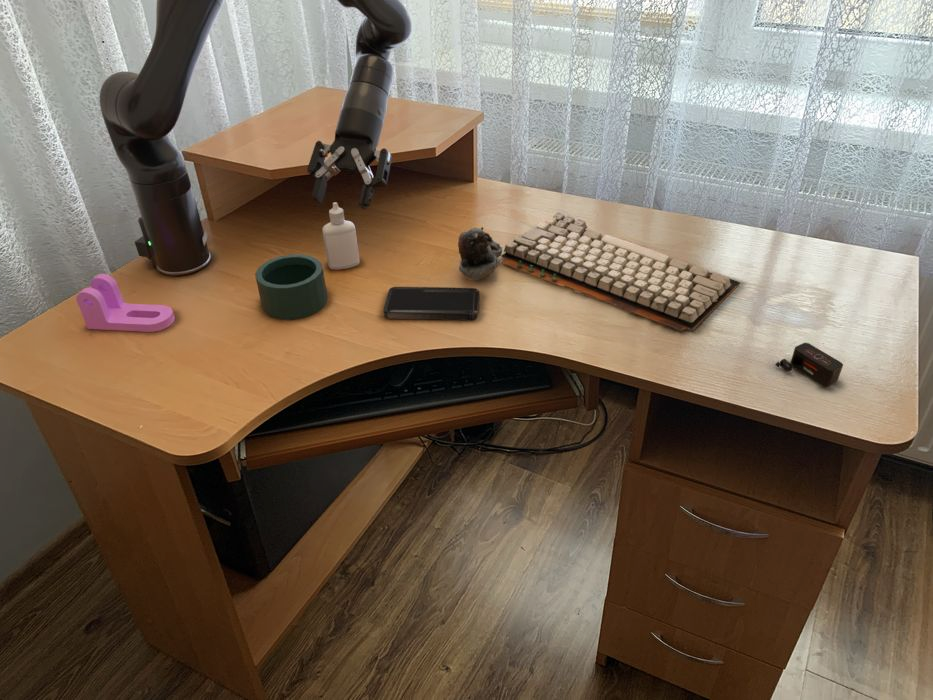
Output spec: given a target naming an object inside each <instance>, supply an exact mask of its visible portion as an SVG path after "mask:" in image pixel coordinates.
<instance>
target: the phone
mask: <svg viewBox="0 0 933 700" xmlns="http://www.w3.org/2000/svg"><path fill="white" fill-rule="evenodd" d="M479 305H480V290H479V288H477V287H444V286H443V287H441V286H439V287H438V286H392V287H390V288H389V289H388V292H387V295H386V299H385V302H384V306H383V316H384V317H385V318H387V319H398V320H400V319H404V320H449V321H472V320H475V319H477V318H478V312H479Z"/></svg>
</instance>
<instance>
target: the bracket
mask: <svg viewBox="0 0 933 700" xmlns="http://www.w3.org/2000/svg"><path fill="white" fill-rule="evenodd" d="M75 299H76V303H77V305H78V308H79V310H80V313H81V315H82V318H83V320H84V322H85V325H86V327H87V329H88V330H100V331H101V330H103V331H122V332H123V331H124V332H146V333H154V332H160V331H163V330H164V329H167V328H169V327H170V326H172V325H173V323H174V322H175V321H176V319H175V314H174V311H173V309H172V308H171V307H170V306H169V305H167V304H166V305H165V304H150V303H149V304H148V303H127V302H125V300H124V298H123V295H122V293H121V290H120V288H119V285H118V282H117V281H116V279H115V278H114V277H113V276H111V275H109V274H107V273H99V274H97V275H95V277H94V278H93V279H92V280H90V287H84V288H83V289H81V290H80V291H79V292H78V294H77V295H76V297H75Z"/></svg>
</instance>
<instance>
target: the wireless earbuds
mask: <svg viewBox="0 0 933 700" xmlns="http://www.w3.org/2000/svg"><path fill="white" fill-rule="evenodd" d="M774 366H776V368H777V367H778V368H780V367H781V368H782V370H783V371H785V372H791V371H793V369H794V370H796V371H797V372H799V373H801V374H802V375H804V376H805V377H807V378H809V379H810V380H812V381H813V382H815V383H817V384H818V385H820V386H821V387H823V388H829V387H830V386H832V385H834V384H836V383H837V382H838V381H839V378H840V377H841V376H840V375H841V373H842V371H843V367H844V363H843V362H841V361H839V360H838V359H837V358H834V357H833V356H831V355H830V354H828V353H826V352H824V351H823V350H821V349H819V348H818V347H816V346H814V345H812V344H811V343H809V342H802V343H801V344H798V345H796V346H795V347H794V348H793V354H792V356H791V359H790V362H789V360H787V359H786V358H783V359H781V360H780V361H777V362H776V363H775V364H774Z"/></svg>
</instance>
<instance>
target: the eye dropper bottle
mask: <svg viewBox="0 0 933 700" xmlns="http://www.w3.org/2000/svg"><path fill="white" fill-rule="evenodd" d="M344 212H345V211H344V209H343V208H342V207H340V206H339V204H338V202H337V201H334V202H332V208H331V209H329V210H328V215H329V221H330V222H327V223H326V224H325V225H323V227H322V237H323V245H324V251H325V258H326V263H327V266H328V267H327V268H329V270H333V271H340V270H342V271H343V270H347V269H351V268H354V267H357V266H359V265H360V253H359V245H358V238H357V231H356V227H355V224H354V223H353V222H352V221H350V220H345V213H344Z"/></svg>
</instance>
